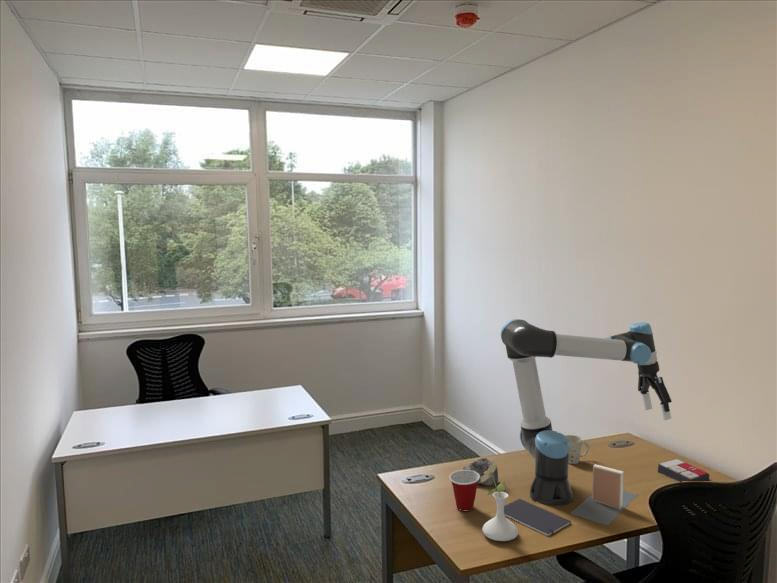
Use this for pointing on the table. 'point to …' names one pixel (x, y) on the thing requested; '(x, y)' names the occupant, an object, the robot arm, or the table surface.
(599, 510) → the mat
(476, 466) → the mineral rock
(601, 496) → the tile
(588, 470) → the table surface
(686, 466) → the calculator
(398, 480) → the table surface
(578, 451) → the mug
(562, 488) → the robot arm
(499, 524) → the flower in vase
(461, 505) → the plastic cup
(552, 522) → the notebook
